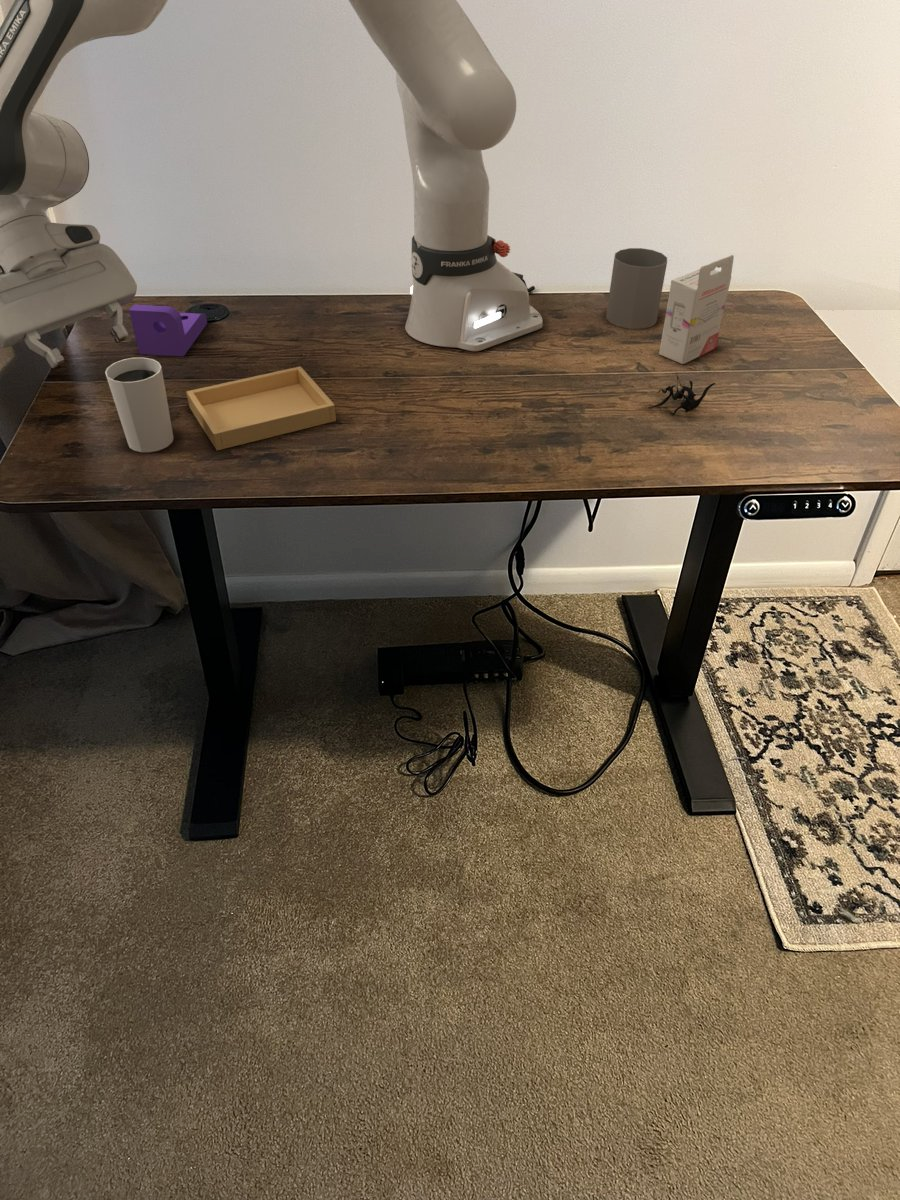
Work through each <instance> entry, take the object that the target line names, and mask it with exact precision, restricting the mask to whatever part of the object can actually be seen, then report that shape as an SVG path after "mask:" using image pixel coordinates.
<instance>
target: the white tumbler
mask: <svg viewBox="0 0 900 1200" xmlns="http://www.w3.org/2000/svg"><path fill="white" fill-rule="evenodd" d="M104 374H105V377H106V380H107V383H108V386H109V389H110V392H111V395H112V396H111V397H112V399H113V402H114V405H115V408H116V411H117V414H118V418H119V420H120V423H121V427H122V429H123V433H124V436H125V439H126V442H127V445H128V447H129V449H131V450H132V451H134V452H137V453H138V452H139V453H153V452H154V453H155V452H159V451H162V450H164V449H166V448H168V447H169V446H170V445H171V444H173V442H174V438H175V437H174V433H173V427H172V426H173V425H172V419H171V415H170V409H169V403H168V397H167V392H166V385H165V379H164V374H163V368H162V365H161V363H160V362H159V361H157V360H156V359H154V358H149V357H129V358H124V359H121V360H118V361H116V362H113V363H112V364H110V365H109V366H108V367H106V369H105V371H104Z"/></svg>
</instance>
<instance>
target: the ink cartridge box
mask: <svg viewBox="0 0 900 1200" xmlns="http://www.w3.org/2000/svg"><path fill="white" fill-rule="evenodd" d="M734 257H735V256H734V254H731V255H728V256H726V257H723V258H720V259H718V260H715V261H713V262H710V263H709V264H705V265H702V266H701V267H700V268H699V269H697V270H694V271H691V272H689V273H686V274H684V275H681V276H678V277H676V278H673V279H671V280H670V286H669V287H670V288H669V293H668V298H667V305H666V310H665V316H664V322H663V328H662V334H661V340H660V344H659V345H660V346H659V349H658V350H659V351H658V355H659V356H662V357H665V358H666V359H669V360H671V361H674V362H677V363H678V364H680V365H685V364H687V363H689V362H691V361H693V360H696V359H697V358H699V357H702V356H703V355H705V354H708V353H710V352H712V351H714V350H715V349H716V347H717V343H718V338H719V333H720V328H721V324H722V320H723V316H724V311H725V307H726V303H727V299H728V298H727V297H728V294H729V289H730V285H731V280H732V272H733V266H734ZM716 268H717V269H719V268H721V269H720V271H719V270H716Z"/></svg>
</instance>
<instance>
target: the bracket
mask: <svg viewBox="0 0 900 1200" xmlns="http://www.w3.org/2000/svg"><path fill="white" fill-rule="evenodd" d="M128 312H129V316H130V321H131V325H132V329H133V333H134V337H135V342H136V346H137V350H138V354H139V355H150V356H168V357H184V356H185V355H186V354H187V353H188V351H189V350H190V348H191V347H192V345H194V343H195V342H196V340H197V339H198V337H199V336H200V334H201V333H202V331H204V329H205V327H206V326H207V324H208V318H207V314H206V313H194V312H180V311H178V310H177V309H176V308H174V307H173V306H168V305H151V304H149V305H148V304H133V305H132V306H131V307H130V308H129V309H128Z"/></svg>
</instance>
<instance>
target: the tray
mask: <svg viewBox="0 0 900 1200" xmlns="http://www.w3.org/2000/svg"><path fill="white" fill-rule="evenodd" d="M185 394H186V397H187V403H188V407H189V409H190V411H191V413H192V414H193V416H194V418H195V419H196V420H197V422H198V424H199V425H200V426H201V428H202V430H203V431H204V433H205V435H206V436H207V438H208V439H209V441H210V442H211V444H212V445H213V448H214V449H215V450H216V451H221V450H225V449H229V448H233V447H238V446H241V445H245V444H249V443H253V442H257V441H260V440H266V439H269V438H273V437H278V436H281V435H286V434H289V433H293V432H298V431H301V430H305V429H310V428H313V427H317V426H321V425H326V424H330V423H333V422H336V421H337V415H336V404H334V402H333V401H332V400H331V398H329V397H328V395H327V394H326V393H325V392H324V391H323V390H322V389H321V387H320V386H319V385H318V384H317V383H316V382H315V380H314V379H313V378H311V376H310V375H309V374H308V373H307V372H306V371H305V369H304V368H303V367H302V366H295V367H292V368H291V367H290V368H287V369H282V370H277V371H273V372H269V373H264V374H258V375H254V376H251V377H250V376H249V377H245V378H241V379H237V380H232V381H227V382H223V383H219V384H213V385H210V386H205V387H200V388H196V389H192V390H190V389H189V390H186V392H185Z"/></svg>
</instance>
